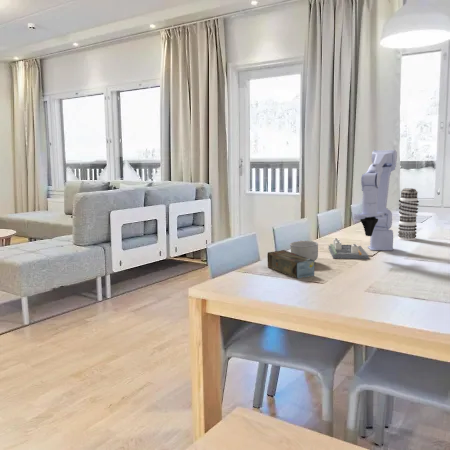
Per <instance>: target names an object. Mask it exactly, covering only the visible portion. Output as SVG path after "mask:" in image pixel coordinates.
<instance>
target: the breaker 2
mask: <svg viewBox="0 0 450 450" xmlns="http://www.w3.org/2000/svg"><path fill="white" fill-rule="evenodd" d="M341 245H342V241H335V250H341Z"/></svg>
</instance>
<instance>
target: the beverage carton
mask: <svg viewBox="0 0 450 450" xmlns="http://www.w3.org/2000/svg"><path fill="white" fill-rule="evenodd" d="M267 268H269V269H272V270H273V271H276V272H279V273H281V272H282V274H284V273H285V274H284V275H287V274H288V275H287V276H289V275H290V276H289V277H292V276H293V278H295V277H296V278H295V279H303V278H302V277H304V278H309V277H308V276H310V277H315V261H314V260H312V259H309V258H306V257H303V256H300V255H297V254H294V253H291V251H288V250H285V249H282V250H275V251H269V252H267Z"/></svg>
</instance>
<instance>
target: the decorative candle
mask: <svg viewBox="0 0 450 450" xmlns="http://www.w3.org/2000/svg"><path fill="white" fill-rule="evenodd" d="M418 193H419V191H417V189H416V188H412V187H411V188H409V187H408V188H406V187H405V188H403V189H401V191H400V198H399V200H398V202H399V203H398V206H399V207H398V209H399V211H398V213H399V214H398V215H399V221H398V223H399V224H398V231H397V233H398V234H397V236H398V237H397V239H398V240H401V241H416V240H417V238H416V237H417V230H418V228H417V227H418V226H417V217H418V213H419V208H418V206H419V203H420V200H418Z"/></svg>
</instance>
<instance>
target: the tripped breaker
mask: <svg viewBox="0 0 450 450" xmlns="http://www.w3.org/2000/svg"><path fill="white" fill-rule="evenodd" d="M350 245H351V253H358V249H359V246H360V245H358V244H356V243H352V244H350Z"/></svg>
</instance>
